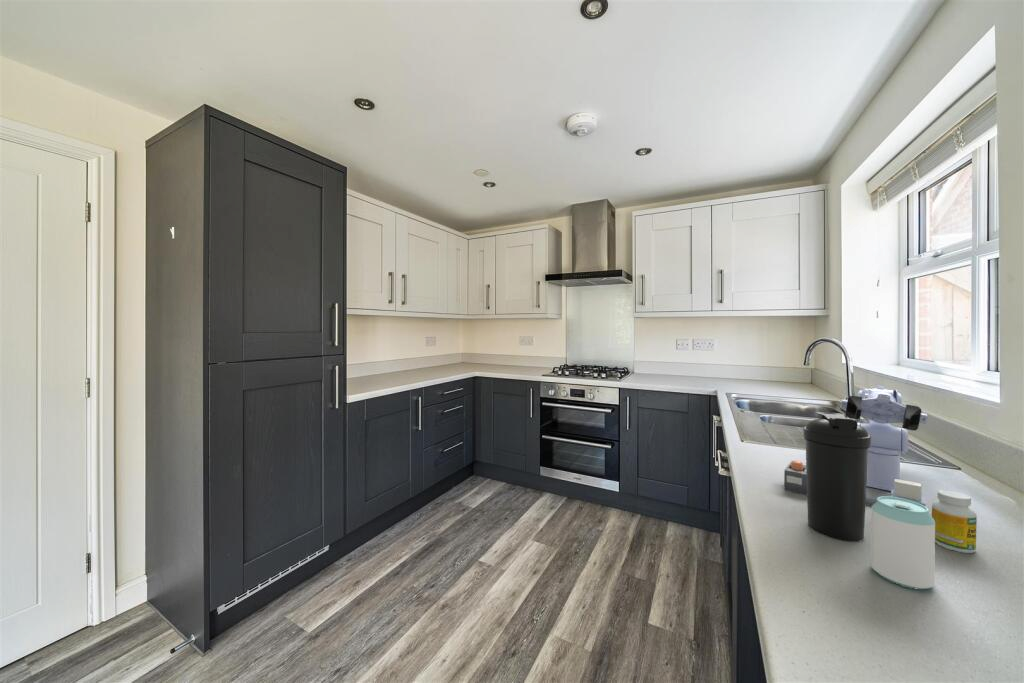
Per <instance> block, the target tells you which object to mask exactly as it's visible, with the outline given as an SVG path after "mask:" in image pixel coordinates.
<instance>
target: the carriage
mask: <svg viewBox="0 0 1024 683" xmlns="http://www.w3.org/2000/svg"><path fill="white" fill-rule="evenodd" d="M922 489H923V488H922V484H921V483H919V482H914V481H908V480H902V479H900V480H899V479H895V490H893V489H891V491H890V497H897V498H902V499H906V500H910V501H913V502H916V503H919V504H921V505H924V506H925V507H926V500H925V495H922V491H923V490H922Z"/></svg>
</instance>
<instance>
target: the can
mask: <svg viewBox="0 0 1024 683" xmlns="http://www.w3.org/2000/svg"><path fill="white" fill-rule="evenodd" d="M876 498H877V502H876V503H875V504H873V505H872V506H870V507H871V514H870V517H871V518H870V521H871V522H870V524H871V528H870V566H871V568H872V569H873V570H874V571H875V572H876V573H878V574H879V575H880V576H881V577H882V576H883V577H882V578H884V579H885V578H886V579H885V580H887V581H889V582H891V583H893V584H895V583H896V585H898V584H900V585H903V586H902V587H904V586H906V587H905V588H907V587H910V588H909V589H912V588H917V589H916V590H924V589H926V590H927V589H931V588H933V587H935V576H936V575H935V574H936V573H935V572H936V571H935V570H936V569H935V563H936V561H935V560H936V556H935V555H936V554H935V552H936V550H935V548H936V543H935V521H934V519H933V518H932V514H930V510H929V508H928V507H927V506H926V505H925V506H924V505H921V504H919V503H916V502H913V501H910V500H906V499H902V498H897V497H891V496H888V495H887V496H886V495H883V496H878V497H876ZM900 585H899V586H900Z"/></svg>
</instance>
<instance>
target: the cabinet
mask: <svg viewBox="0 0 1024 683" xmlns="http://www.w3.org/2000/svg"><path fill="white" fill-rule="evenodd" d="M783 478H784V480H783V482H784V484H783V485H784V487H783V488H784V491H787V490H788V492H792V493H796V492H797V493H796V494H800V493H801V494H800V495H804V494H805V496H807V472H806V464H803V471H800V470H795V469H791V462H789V464H788V465H787V466H786V467H785V469H784V477H783Z"/></svg>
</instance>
